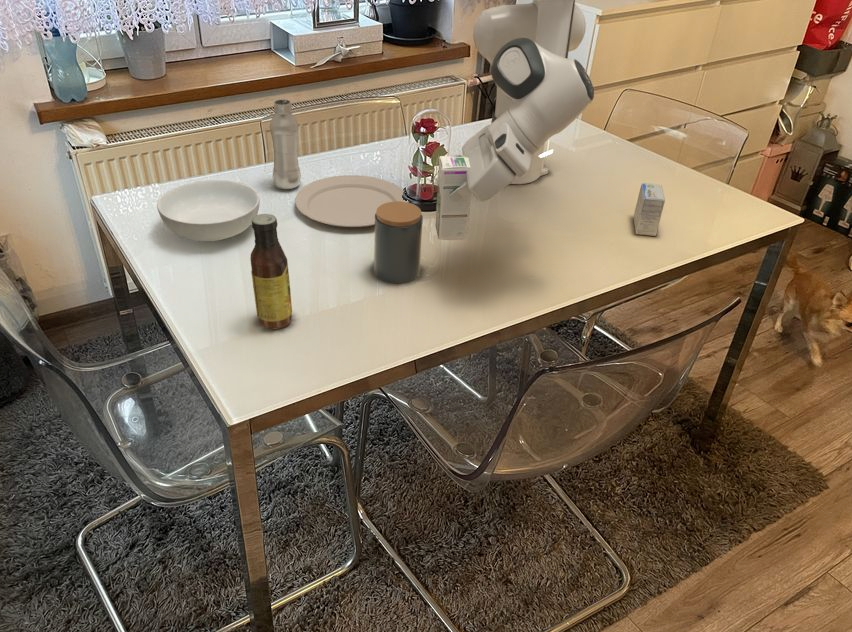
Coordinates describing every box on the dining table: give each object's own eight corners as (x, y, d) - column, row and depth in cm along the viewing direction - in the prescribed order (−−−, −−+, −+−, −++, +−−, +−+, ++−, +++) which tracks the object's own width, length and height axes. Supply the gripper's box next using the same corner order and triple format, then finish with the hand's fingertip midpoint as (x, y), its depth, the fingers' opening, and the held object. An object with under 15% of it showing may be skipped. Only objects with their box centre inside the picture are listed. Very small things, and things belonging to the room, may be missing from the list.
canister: (372, 259, 148) (373, 200, 140) (417, 259, 148) (420, 200, 140) (375, 283, 141) (376, 223, 133) (421, 283, 141) (425, 222, 133)
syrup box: (468, 240, 138) (475, 167, 129) (437, 240, 138) (442, 167, 129) (464, 226, 142) (470, 154, 134) (433, 226, 142) (438, 154, 133)
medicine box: (655, 237, 158) (666, 200, 153) (634, 234, 159) (644, 197, 153) (652, 220, 164) (662, 184, 159) (632, 218, 165) (641, 182, 160)
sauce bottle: (299, 323, 130) (292, 222, 117) (267, 335, 127) (257, 232, 115) (281, 306, 134) (273, 207, 122) (250, 316, 131) (239, 216, 119)
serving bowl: (256, 203, 166) (254, 175, 162) (267, 248, 150) (264, 218, 146) (162, 211, 162) (156, 182, 158) (162, 259, 146) (156, 228, 142)
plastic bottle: (267, 185, 174) (261, 101, 162) (291, 178, 177) (286, 95, 165) (283, 195, 170) (278, 109, 158) (307, 187, 174) (303, 102, 162)
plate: (332, 174, 180) (332, 166, 178) (427, 198, 170) (427, 190, 169) (273, 216, 161) (272, 208, 160) (375, 245, 152) (375, 236, 151)
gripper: (493, 106, 135) (437, 155, 141) (505, 149, 119) (441, 203, 125) (514, 131, 138) (458, 178, 144) (529, 176, 122) (465, 227, 128)
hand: (450, 190), depth 135 cm, fingers closed on syrup box, 6 cm apart
